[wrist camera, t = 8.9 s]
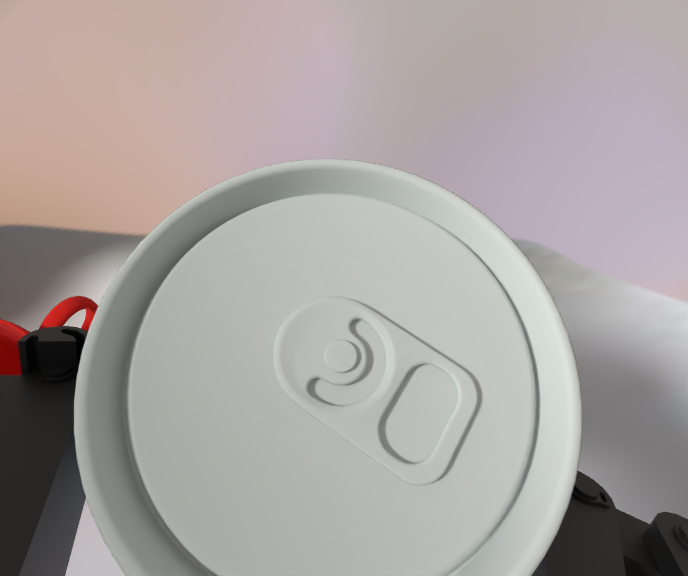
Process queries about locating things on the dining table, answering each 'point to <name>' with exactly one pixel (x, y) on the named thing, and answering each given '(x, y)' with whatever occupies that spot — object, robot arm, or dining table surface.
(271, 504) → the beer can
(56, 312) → the ceramic cup
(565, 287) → the dining table surface
